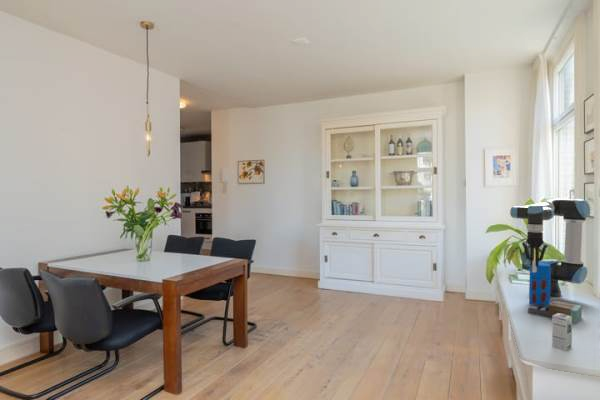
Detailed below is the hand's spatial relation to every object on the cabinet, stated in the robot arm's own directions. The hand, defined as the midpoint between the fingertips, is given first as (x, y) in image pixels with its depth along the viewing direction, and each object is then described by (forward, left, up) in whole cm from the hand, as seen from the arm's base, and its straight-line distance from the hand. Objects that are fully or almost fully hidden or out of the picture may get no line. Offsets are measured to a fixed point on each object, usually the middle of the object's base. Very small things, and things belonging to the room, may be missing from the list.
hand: (534, 271), depth 212 cm
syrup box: (+47, +23, -23) cm, 57 cm away
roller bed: (+1, +9, -23) cm, 25 cm away
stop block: (+1, +20, -23) cm, 30 cm away
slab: (+1, +14, -20) cm, 24 cm away
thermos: (-16, -1, -23) cm, 28 cm away
